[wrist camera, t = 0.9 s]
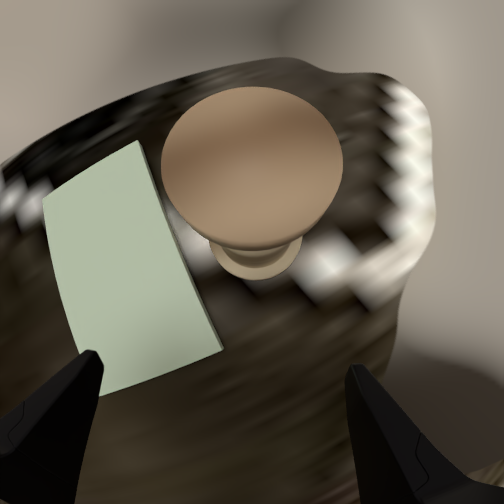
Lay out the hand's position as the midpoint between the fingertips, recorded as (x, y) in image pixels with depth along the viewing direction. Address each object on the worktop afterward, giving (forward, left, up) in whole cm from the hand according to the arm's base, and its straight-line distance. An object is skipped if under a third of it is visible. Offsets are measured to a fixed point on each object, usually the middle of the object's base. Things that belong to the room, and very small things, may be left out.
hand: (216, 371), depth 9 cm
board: (+10, +8, -13) cm, 18 cm away
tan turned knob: (+7, -4, -13) cm, 15 cm away
